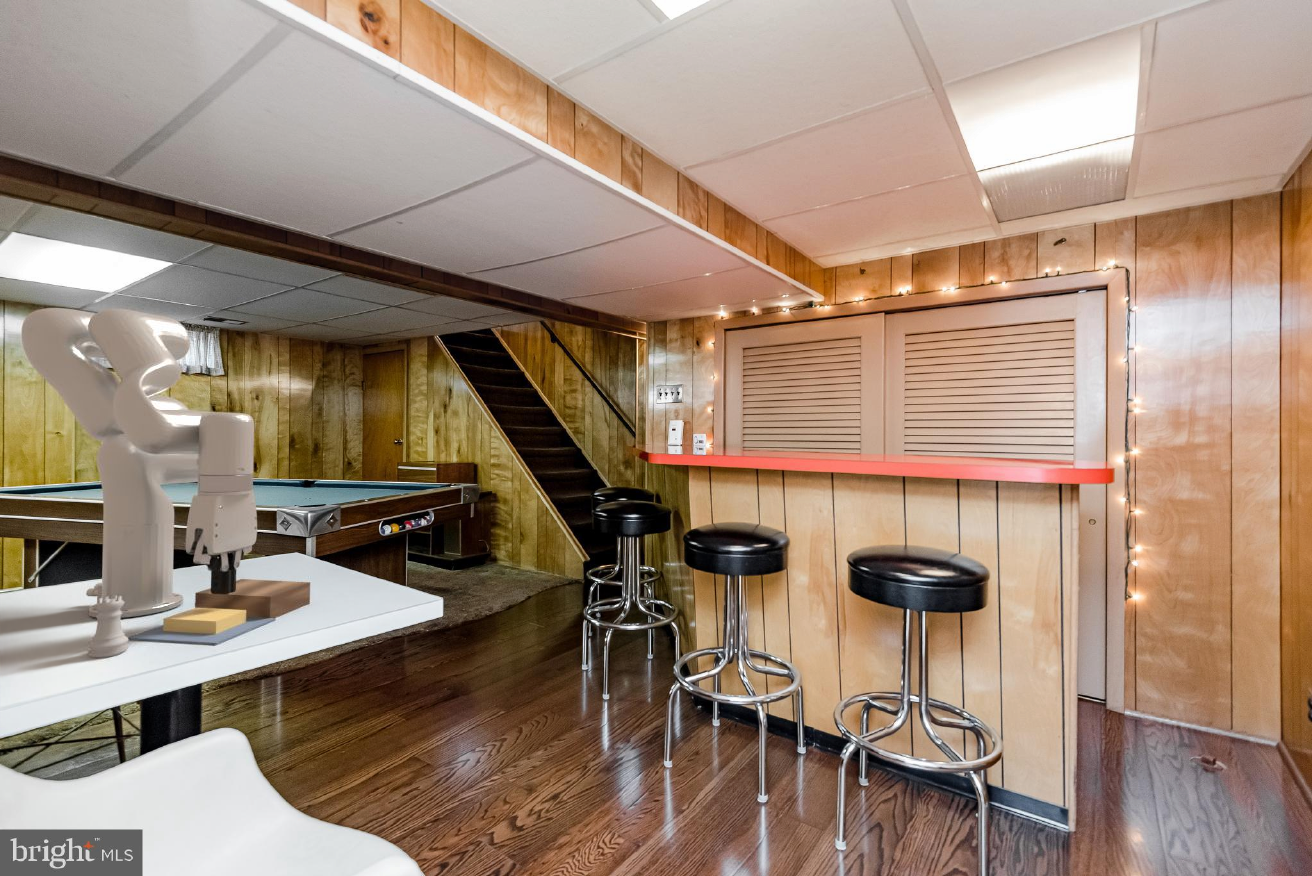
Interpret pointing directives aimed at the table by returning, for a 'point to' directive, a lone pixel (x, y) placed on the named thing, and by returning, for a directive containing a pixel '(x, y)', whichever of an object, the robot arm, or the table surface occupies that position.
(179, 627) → the yellow kitchen sponge
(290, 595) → the wooden block
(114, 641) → the rook chess piece
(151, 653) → the table surface
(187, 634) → the mat
